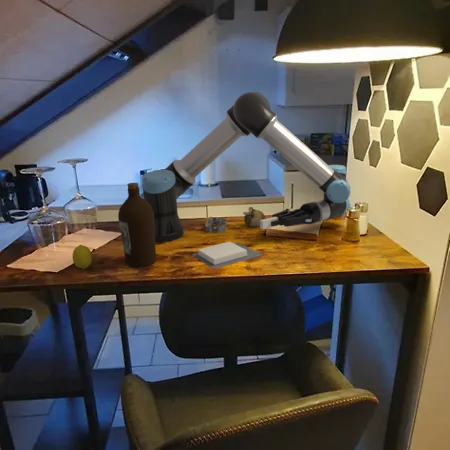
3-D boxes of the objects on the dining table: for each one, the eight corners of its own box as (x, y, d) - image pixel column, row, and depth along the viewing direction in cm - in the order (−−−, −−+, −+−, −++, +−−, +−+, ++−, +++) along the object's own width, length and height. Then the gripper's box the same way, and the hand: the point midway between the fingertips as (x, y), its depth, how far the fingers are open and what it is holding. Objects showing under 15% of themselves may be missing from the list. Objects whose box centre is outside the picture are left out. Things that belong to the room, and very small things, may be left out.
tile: (229, 241, 135) (197, 249, 129) (247, 250, 127) (214, 259, 121) (229, 247, 135) (198, 255, 129) (247, 256, 127) (214, 265, 121)
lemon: (94, 271, 122) (90, 246, 120) (74, 274, 120) (70, 249, 118) (93, 264, 127) (89, 240, 124) (74, 267, 125) (70, 243, 123)
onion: (263, 230, 153) (263, 209, 150) (242, 229, 155) (241, 209, 152) (265, 224, 160) (265, 204, 157) (245, 223, 162) (245, 203, 159)
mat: (238, 244, 140) (238, 242, 139) (263, 256, 128) (262, 254, 128) (191, 256, 131) (191, 254, 130) (214, 270, 119) (214, 268, 119)
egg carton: (223, 234, 151) (223, 223, 150) (204, 233, 152) (203, 223, 151) (228, 225, 161) (228, 215, 160) (210, 224, 162) (209, 214, 161)
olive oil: (151, 252, 135) (144, 178, 127) (163, 263, 126) (156, 184, 118) (119, 260, 130) (110, 183, 122) (129, 271, 121) (120, 189, 113)
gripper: (327, 226, 142) (273, 240, 130) (301, 218, 152) (250, 230, 140) (328, 205, 139) (274, 218, 127) (301, 198, 150) (249, 209, 138)
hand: (261, 224), depth 134 cm, fingers closed
